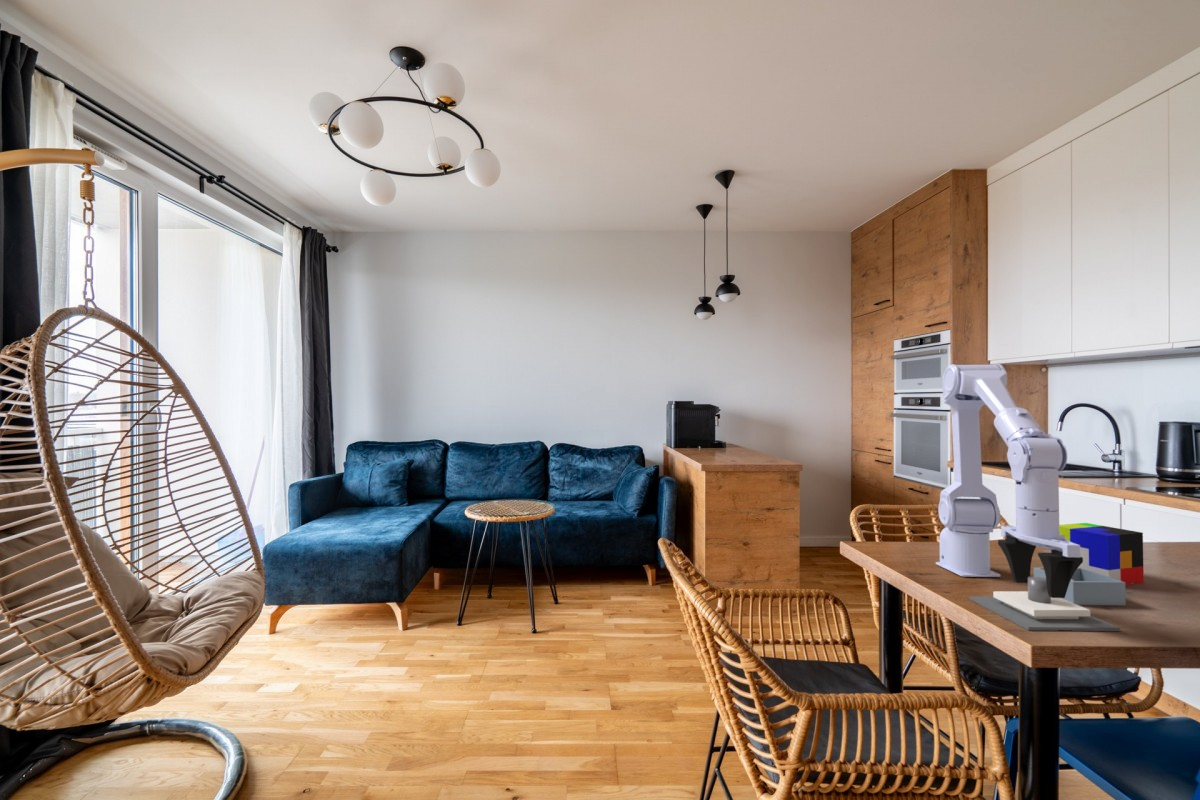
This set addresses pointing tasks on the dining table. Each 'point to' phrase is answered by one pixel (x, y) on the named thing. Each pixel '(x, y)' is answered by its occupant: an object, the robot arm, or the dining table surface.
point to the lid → (1040, 602)
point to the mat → (1043, 624)
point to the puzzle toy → (1108, 550)
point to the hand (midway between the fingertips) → (1038, 589)
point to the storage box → (1091, 588)
